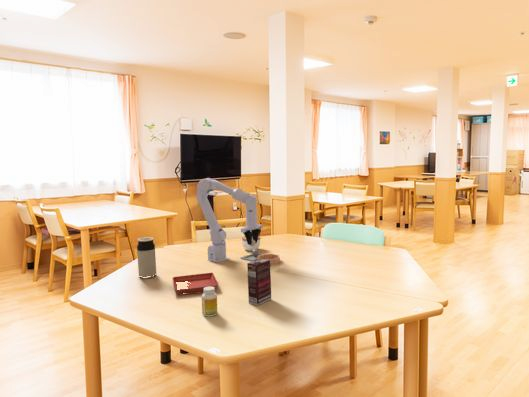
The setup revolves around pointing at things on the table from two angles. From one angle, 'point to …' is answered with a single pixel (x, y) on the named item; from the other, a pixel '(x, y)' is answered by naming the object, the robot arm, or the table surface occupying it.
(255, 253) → the pebble dark
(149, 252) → the travel mug
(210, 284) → the plant saucer
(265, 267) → the supplement box
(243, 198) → the robot arm
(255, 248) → the lidded jar
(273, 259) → the bowl
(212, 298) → the supplement bottle
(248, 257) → the tray
